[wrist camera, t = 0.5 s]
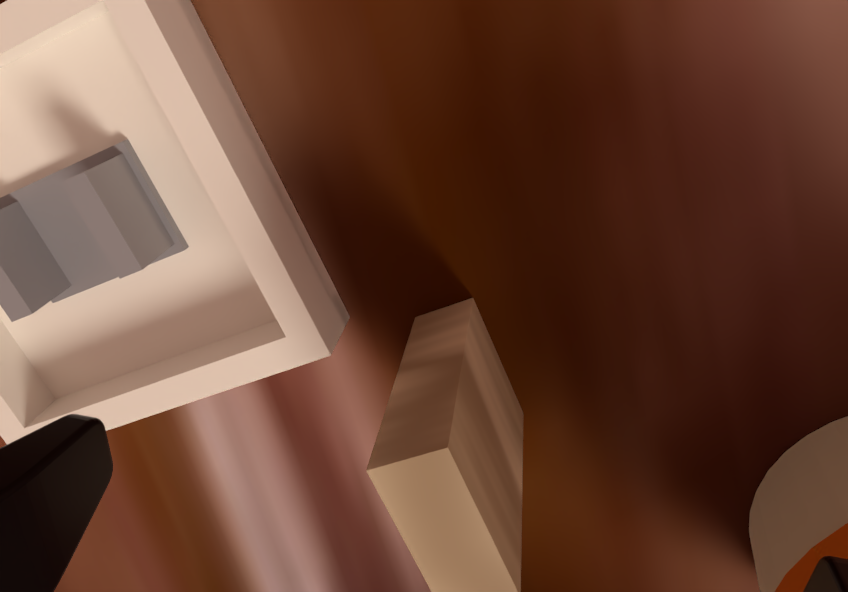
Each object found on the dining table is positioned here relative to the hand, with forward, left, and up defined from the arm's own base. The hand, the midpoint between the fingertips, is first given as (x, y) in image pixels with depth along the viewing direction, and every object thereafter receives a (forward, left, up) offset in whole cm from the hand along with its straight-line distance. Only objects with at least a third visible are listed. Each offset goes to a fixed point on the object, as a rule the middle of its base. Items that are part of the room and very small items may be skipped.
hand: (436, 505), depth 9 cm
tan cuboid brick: (-3, -5, -14) cm, 15 cm away
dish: (-12, +4, -14) cm, 19 cm away
